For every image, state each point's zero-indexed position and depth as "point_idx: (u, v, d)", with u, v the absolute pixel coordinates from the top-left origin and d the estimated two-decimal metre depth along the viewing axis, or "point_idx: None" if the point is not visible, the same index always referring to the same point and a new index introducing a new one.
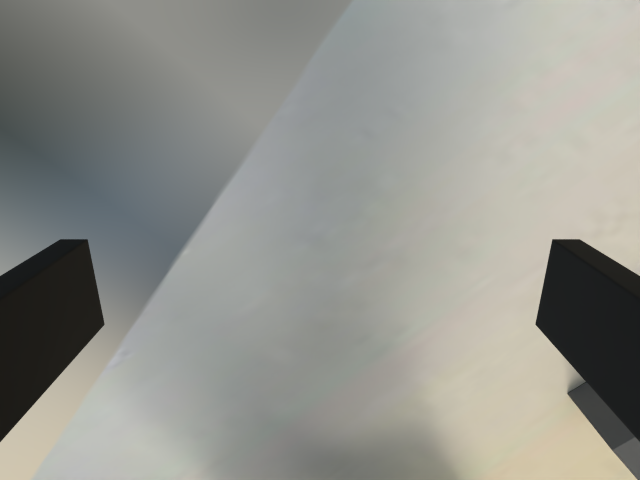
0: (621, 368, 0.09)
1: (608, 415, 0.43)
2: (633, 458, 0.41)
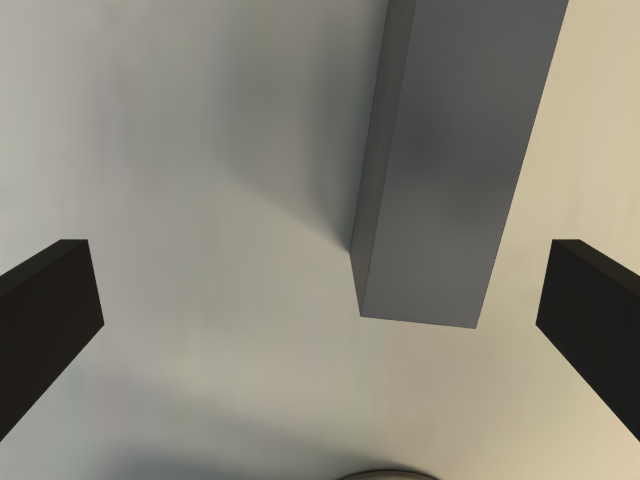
0: (621, 368, 0.09)
1: (360, 256, 0.23)
2: (411, 303, 0.20)
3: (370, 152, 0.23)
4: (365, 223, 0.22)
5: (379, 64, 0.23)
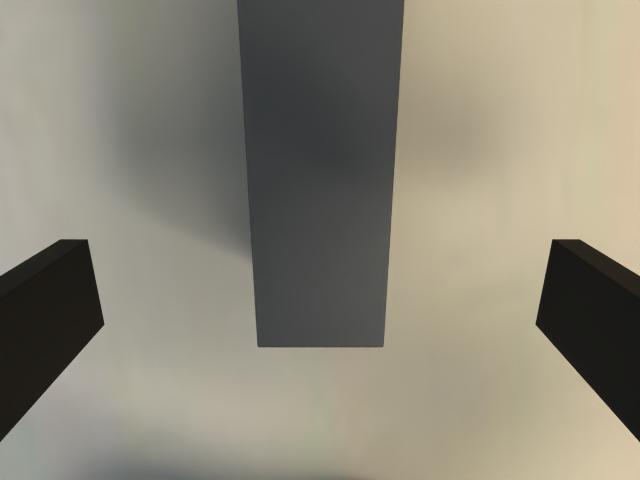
0: (621, 368, 0.09)
1: None
2: (308, 327, 0.19)
3: None
4: None
5: None
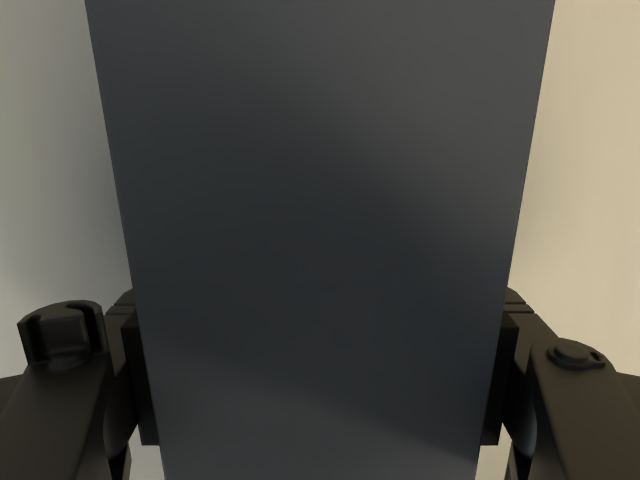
0: None
1: None
2: None
3: None
4: None
5: None
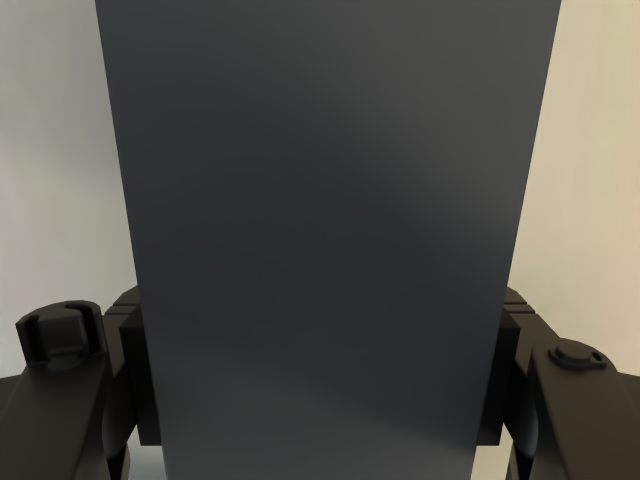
0: None
1: None
2: None
3: None
4: None
5: None
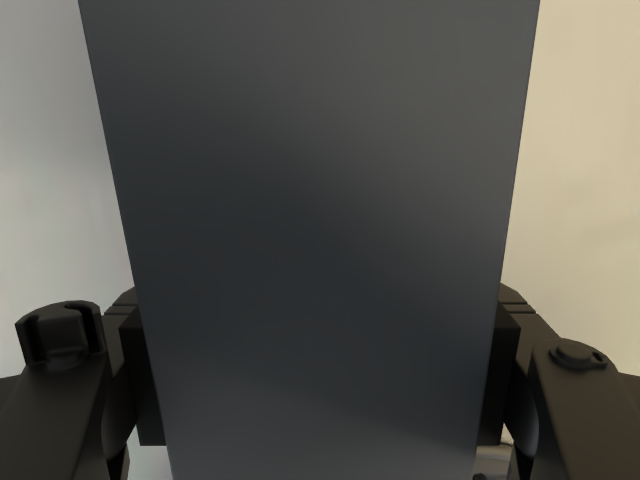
0: None
1: None
2: None
3: None
4: None
5: None
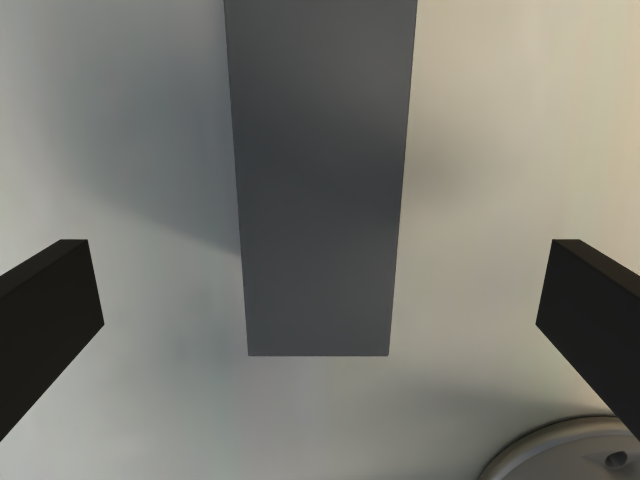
0: (621, 368, 0.09)
1: None
2: (305, 334, 0.17)
3: None
4: None
5: None
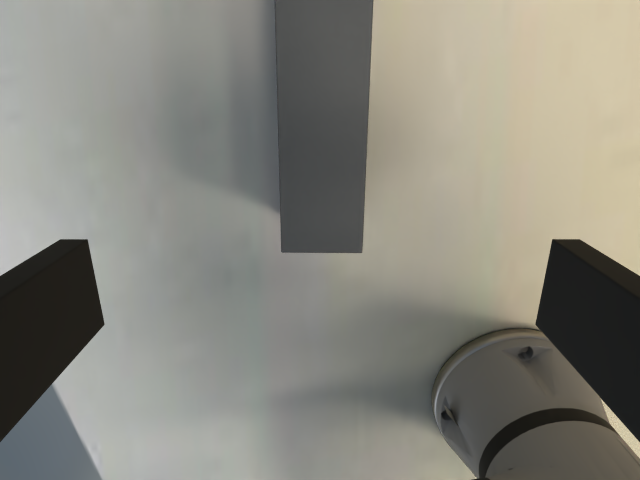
0: (621, 368, 0.09)
1: None
2: (314, 238, 0.29)
3: None
4: None
5: None
